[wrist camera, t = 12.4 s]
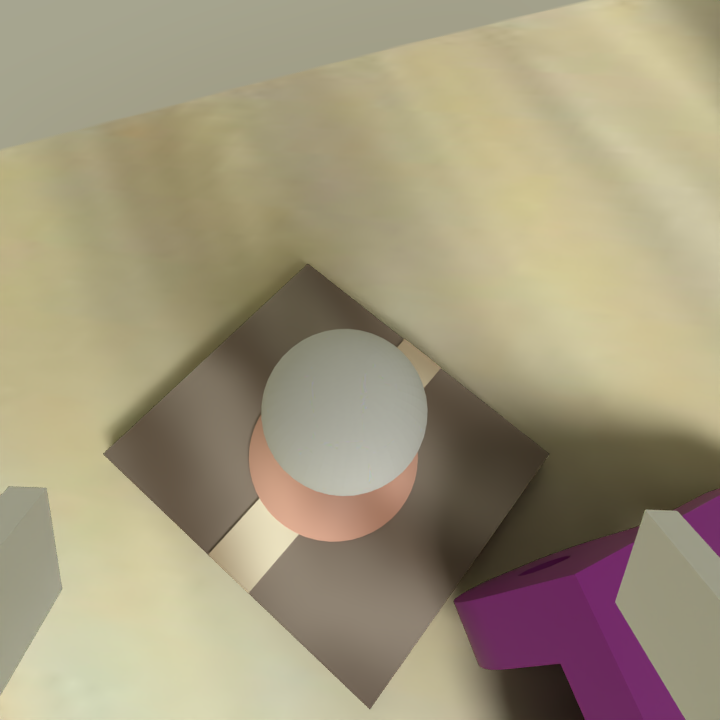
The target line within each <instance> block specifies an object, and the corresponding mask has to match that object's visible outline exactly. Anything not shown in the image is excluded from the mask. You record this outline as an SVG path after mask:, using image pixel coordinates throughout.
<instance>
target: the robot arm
mask: <svg viewBox="0 0 720 720" xmlns="http://www.w3.org/2000/svg"><path fill="white" fill-rule="evenodd" d="M61 590H62V584H61V578H60V571H59V565H58V558H57V552H56V545H55V539H54V533H53V526H52V520H51V513H50V507H49V500H48V494H47V488H37V487H8V488H7V489H6V490H5V491H4V492H3V493H2V494H1V495H0V695H1V693H2V692H3V690H4V688H5V687H6V685H7V683H8V681H9V680H10V678H11V676H12V675H13V673H14V671H15V669H16V668H17V666H18V664H19V662H20V661H21V659H22V657H23V656H24V654H25V652H26V650H27V649H28V647H29V645H30V644H31V642H32V640H33V638H34V637H35V635H36V633H37V632H38V630H39V628H40V626H41V625H42V623H43V621H44V620H45V618H46V616H47V614H48V613H49V611H50V609H51V607H52V606H53V604H54V602H55V601H56V599H57V597H58V595H59V594H60V592H61ZM615 603H616V605H617V606H618V608H619V610H620V611H621V613H622V615H623V616H624V618H625V620H626V621H627V623H628V625H629V626H630V628H631V630H632V631H633V633H634V635H635V636H636V638H637V640H638V641H639V643H640V645H641V646H642V648H643V650H644V651H645V653H646V655H647V656H648V658H649V660H650V661H651V663H652V665H653V666H654V668H655V670H656V671H657V673H658V675H659V676H660V678H661V680H662V681H663V683H664V685H665V686H666V688H667V690H668V691H669V693H670V695H671V696H672V698H673V700H674V701H675V703H676V705H677V706H678V708H679V710H680V711H681V713H682V715H683V716H684V718H685V720H720V557H719V556H718V555H717V554H716V553H715V552H714V551H713V550H712V549H711V548H710V546H709V545H708V544H707V543H706V542H705V541H704V540H703V539H702V538H701V536H700V535H699V534H698V533H697V532H696V531H695V530H694V529H693V528H692V527H691V525H690V524H689V523H688V522H687V521H686V520H685V519H684V518H683V517H682V515H681V514H680V513H679V512H678V511H670V510H645V511H644V514H643V518H642V521H641V524H640V527H639V530H638V533H637V536H636V539H635V542H634V545H633V548H632V551H631V554H630V558H629V561H628V564H627V567H626V570H625V573H624V576H623V579H622V582H621V585H620V588H619V591H618V594H617V597H616V601H615Z"/></svg>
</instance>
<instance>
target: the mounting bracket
mask: <svg viewBox="0 0 720 720" xmlns="http://www.w3.org/2000/svg"><path fill="white" fill-rule="evenodd" d="M672 511H678V512H679V513H680V514H681V515H682V517H683V518H684V519H685V520H686V521H687V522H688V523H689V524H690V525H691V527H692V528H693V529H694V530H695V531H696V532H697V533H698V534H699V535H700V536H701V538H702V539H703V540H704V541H705V542H706V543H707V544H708V545H709V546H710V548H711V549H712V550H713V551H714V552H715V553H716V554H717V555H718V556H719V557H720V488H719V489H716V490H713V491H710V492H707V493H705V494H703V495H701V496H699V497H697V498H695V499H693V500H691V501H689V502H687V503H686V504H684V505H682V506H680V507H678V508H676V509H674V510H672ZM639 527H640V526H638V527H635V528H632V529H628V530H625V531H622V532H618V533H615V534H612V535H609V536H605V537H602V538H599V539H595V540H592V541H589V542H586V543H583V544H580V545H577V546H574V547H571V548H568V549H565V550H562V551H560V552H557V553H554V554H551V555H549V556H546V557H543V558H541V559H538V560H536V561H533V562H531V563H529V564H526V565H524V566H521V567H519V568H517V569H514V570H512V571H509V572H507V573H505V574H502V575H500V576H497V577H495V578H493V579H490V580H488V581H486V582H484V583H482V584H479V585H477V586H475V587H473V588H472V589H470V590H468V591H466V592H464V593H463V594H461V595H459V596H458V597H457V598H456V599H454V604H455V606H456V609H457V611H458V614H459V616H460V619H461V621H462V624H463V626H464V629H465V631H466V634H467V637H468V639H469V642H470V644H471V647H472V649H473V652H474V654H475V657H476V659H477V662H478V664H479V666H480V667H482V668H484V669H489V670H503V669H514V668H523V667H533V666H542V665H552V664H561V666H562V668H563V671H564V673H565V675H566V678H567V680H568V682H569V684H570V687H571V689H572V691H573V693H574V696H575V698H576V700H577V703H578V705H579V707H580V709H581V712H582V714H583V716H584V718H585V720H685V718H684V716H683V715H682V713H681V711H680V710H679V708H678V706H677V705H676V703H675V701H674V700H673V698H672V696H671V695H670V693H669V691H668V690H667V688H666V686H665V685H664V683H663V681H662V680H661V678H660V676H659V675H658V673H657V671H656V670H655V668H654V666H653V665H652V663H651V661H650V660H649V658H648V656H647V655H646V653H645V651H644V650H643V648H642V646H641V645H640V643H639V641H638V640H637V638H636V636H635V635H634V633H633V631H632V630H631V628H630V626H629V625H628V623H627V621H626V620H625V618H624V616H623V615H622V613H621V611H620V610H619V608H618V606H617V605H616V603H615V601H616V597H617V594H618V591H619V588H620V585H621V582H622V579H623V576H624V573H625V570H626V567H627V564H628V561H629V558H630V554H631V551H632V548H633V545H634V542H635V539H636V536H637V533H638V530H639Z"/></svg>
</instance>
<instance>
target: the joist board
mask: <svg viewBox="0 0 720 720" xmlns="http://www.w3.org/2000/svg"><path fill="white" fill-rule="evenodd" d="M335 329H353V330H361V331H364V332H368V333H372V334H374V335H376V336H379V337H381V338H383V339H385V340H387V341H388V342H390V343H391V344H393V345H394V346H395V347H397V348H398V349H399V350H400V351H401V352H403V354H404V355H405V356H406V357H407V358H408V359H409V360H410V362H411V363H412V365H413V366H414V368H415V369H416V371H417V372H418V375H419V377H420V379H421V381H422V383H423V387H424V391H425V394H426V400H427V409H428V412H427V425H426V430H425V434H424V438H423V441H422V443H421V446H420V448H419V450H418V452H417V454H416V455H415V457H414V459H413V460H412V462H411V463H410V464H409V465H408V466H407V468H406V469H405V470H404V471H403V472H402V473H401V474H400V475H399V476H397V477H396V478H395V479H394V480H393V481H391V482H389V483H388V484H386V485H384V486H383V487H381V488H379V489H376V490H373V491H371V492H368V493H364V494H359V495H354V496H336V495H328V494H324V493H321V492H317V491H314V490H312V489H310V488H308V487H306V486H304V485H302V484H301V483H299V482H298V481H296V480H295V479H293V478H292V477H291V476H290V475H289V474H288V473H287V472H285V471H284V470H283V469H282V467H281V466H280V465H279V463H278V462H277V461H276V460H275V458H274V456H273V454H272V453H271V451H270V449H269V447H268V445H267V442H266V439H265V436H264V432H263V426H262V420H261V405H262V399H263V393H264V390H265V387H266V384H267V381H268V378H269V377H270V375H271V373H272V371H273V369H274V367H275V366H276V365H277V363H278V362H279V361H280V359H281V358H282V357H283V356H284V355H285V354H286V353H287V352H288V351H289V350H290V349H291V348H292V347H294V346H295V345H297V344H298V343H299V342H301V341H302V340H304V339H306V338H308V337H310V336H312V335H315V334H318V333H321V332H324V331H329V330H335ZM103 454H104V455H105V456H106V457H107V458H108V459H109V460H110V461H111V462H112V463H113V464H114V465H115V466H116V467H117V468H118V469H119V470H120V471H121V472H122V473H123V474H124V475H125V476H127V477H128V478H129V479H130V480H131V481H132V482H133V483H134V484H135V485H136V486H137V487H138V488H139V489H140V490H141V491H142V492H143V493H144V494H145V495H146V496H147V497H148V498H150V499H151V500H152V501H153V502H154V503H155V504H156V505H157V506H158V507H159V508H160V509H161V510H162V511H163V512H164V513H165V514H166V515H167V516H168V517H169V518H170V519H171V520H172V521H174V522H175V523H176V524H177V525H178V526H179V527H180V528H181V529H182V530H183V531H184V532H185V533H186V534H187V535H188V536H189V537H190V538H191V539H192V540H193V541H194V542H195V543H197V544H198V545H199V546H200V547H201V548H202V549H203V550H204V551H205V552H206V553H207V554H208V555H209V556H210V557H211V558H212V559H213V560H214V561H215V562H216V563H217V564H218V565H219V566H220V567H221V568H222V569H223V570H224V571H226V572H227V573H228V574H229V575H230V576H231V577H232V578H233V579H234V580H235V581H236V582H237V583H238V584H239V585H240V586H241V587H242V588H243V589H244V590H245V591H246V592H247V593H249V594H250V595H251V596H252V597H253V598H254V599H255V600H256V601H257V602H258V603H259V604H260V605H261V606H262V607H263V608H264V609H265V610H267V611H268V612H269V613H270V614H271V615H272V616H273V617H274V618H275V619H276V620H277V621H278V622H279V623H280V624H281V625H282V626H283V627H284V628H285V629H286V630H287V631H288V632H290V633H291V634H292V635H293V636H294V637H295V638H296V639H297V640H298V641H299V642H300V643H301V644H302V645H303V646H304V647H305V648H306V649H307V650H308V651H309V652H310V653H311V654H313V655H314V656H315V657H316V658H317V659H318V660H319V661H320V662H321V663H322V664H323V665H324V666H325V667H326V668H327V669H328V670H329V671H330V672H331V673H332V674H333V675H334V676H335V677H337V678H338V679H339V680H340V681H341V682H342V683H343V684H344V685H345V686H346V687H347V688H348V689H349V690H350V691H351V692H352V693H353V694H354V695H355V696H356V697H357V698H358V699H360V700H361V701H362V702H363V703H364V704H365V705H366V706H367V707H368V708H369V709H370V708H371V707H372V706H373V704H374V703H375V701H376V700H377V698H378V697H379V696H380V694H381V693H382V691H383V690H384V689H385V687H386V686H387V684H388V683H389V681H390V680H391V679H392V677H393V676H394V674H395V673H396V671H397V670H398V669H399V667H400V666H401V664H402V663H403V662H404V660H405V659H406V657H407V656H408V654H409V653H410V652H411V650H412V649H413V647H414V646H415V644H416V643H417V642H418V640H419V639H420V637H421V636H422V635H423V633H424V632H425V630H426V629H427V627H428V626H429V625H430V623H431V622H432V620H433V619H434V617H435V616H436V615H437V613H438V612H439V610H440V609H441V608H442V606H443V605H444V603H445V602H446V600H447V599H448V598H449V596H450V595H451V593H452V592H453V590H454V589H455V588H456V586H457V585H458V583H459V582H460V581H461V579H462V578H463V576H464V575H465V573H466V572H467V571H468V569H469V568H470V566H471V565H472V563H473V562H474V561H475V559H476V558H477V556H478V555H479V554H480V552H481V551H482V549H483V548H484V546H485V545H486V544H487V542H488V541H489V539H490V538H491V536H492V535H493V534H494V532H495V531H496V529H497V528H498V527H499V525H500V524H501V522H502V521H503V519H504V518H505V517H506V515H507V514H508V512H509V511H510V509H511V508H512V507H513V505H514V504H515V502H516V501H517V500H518V498H519V497H520V495H521V494H522V492H523V491H524V490H525V488H526V487H527V485H528V484H529V482H530V481H531V480H532V478H533V477H534V475H535V474H536V473H537V471H538V470H539V468H540V467H541V465H542V464H543V463H544V461H545V460H546V458H547V457H548V455H549V453H548V452H546V451H545V450H544V449H542V448H541V447H540V446H539V445H537V444H536V443H535V442H534V441H532V440H531V439H530V438H528V437H527V436H526V435H525V434H523V433H522V432H521V431H520V430H518V429H517V428H516V427H515V426H513V425H512V424H511V423H509V422H508V421H507V420H506V419H504V418H503V417H502V416H501V415H499V414H498V413H497V412H495V411H494V410H493V409H492V408H490V407H489V406H488V405H487V404H485V403H484V402H483V401H482V400H480V399H479V398H478V397H476V396H475V395H474V394H473V393H471V392H470V391H469V390H468V389H466V388H465V387H464V386H462V385H461V384H460V383H459V382H457V381H456V380H455V379H454V378H452V377H451V376H450V375H449V374H447V373H446V372H445V371H443V370H442V369H441V367H440V366H439V365H438V364H436V363H435V362H434V361H433V360H431V359H430V358H429V357H428V356H426V355H425V354H424V353H422V352H421V351H420V350H419V349H417V348H416V347H415V346H414V345H412V344H411V343H410V342H409V341H407V340H406V339H403V338H402V337H400V336H399V335H398V334H396V333H395V332H394V331H393V330H391V329H390V328H389V327H388V326H386V325H385V324H384V323H383V322H381V321H380V320H379V319H377V318H376V317H375V316H374V315H372V314H371V313H370V312H369V311H367V310H366V309H365V308H363V307H362V306H361V305H360V304H358V303H357V302H356V301H355V300H353V299H352V298H351V297H350V296H348V295H347V294H346V293H344V292H343V291H342V290H341V289H339V288H338V287H337V286H336V285H334V284H333V283H332V282H330V281H329V280H328V279H327V278H325V277H324V276H323V275H322V274H320V273H319V272H318V271H317V270H315V269H314V268H313V267H311V266H310V265H309V264H307V265H306V266H305V267H304V268H303V269H301V270H300V271H299V272H298V273H297V274H296V275H295V276H294V277H293V278H292V279H291V280H290V281H289V282H287V283H286V284H285V285H284V286H283V287H282V288H281V289H280V290H279V291H278V292H277V293H276V294H275V295H273V296H272V297H271V298H270V299H269V300H268V301H267V302H266V303H265V304H264V305H263V306H262V307H261V308H259V309H258V310H257V311H256V312H255V313H254V314H253V315H252V316H251V317H250V318H249V319H248V320H247V321H245V322H244V323H243V324H242V325H241V326H240V327H239V328H238V329H237V330H236V331H235V332H234V333H233V334H231V335H230V336H229V337H228V338H227V339H226V340H225V341H224V342H223V343H222V344H221V345H220V346H219V347H218V348H216V349H215V350H214V351H213V352H212V353H211V354H210V355H209V356H208V357H207V358H206V359H205V360H204V361H202V362H201V363H200V364H199V365H198V366H197V367H196V368H195V369H194V370H193V371H192V372H191V373H190V374H188V375H187V376H186V377H185V378H184V379H183V380H182V381H181V382H180V383H179V384H178V385H177V386H176V387H174V388H173V389H172V390H171V391H170V392H169V393H168V394H167V395H166V396H165V397H164V398H163V399H162V400H160V401H159V402H158V403H157V404H156V405H155V406H154V407H153V408H152V409H151V410H150V411H149V412H148V413H146V414H145V415H144V416H143V417H142V418H141V419H140V420H139V421H138V422H137V423H136V424H135V425H134V426H132V427H131V428H130V429H129V430H128V431H127V432H126V433H125V434H124V435H123V436H122V437H121V438H120V439H118V440H117V441H116V442H115V443H114V444H113V445H112V446H111V447H110V448H109V449H108V450H107V451H106V452H104V453H103Z"/></svg>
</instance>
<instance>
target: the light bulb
mask: <svg viewBox="0 0 720 720" xmlns="http://www.w3.org/2000/svg"><path fill="white" fill-rule="evenodd" d="M427 412H428V409H427V400H426V394H425V391H424V387H423V383H422V381H421V379H420V377H419V375H418V372H417V371H416V369H415V368H414V366H413V365H412V363H411V362H410V360H409V359H408V358H407V357H406V356H405V355H404V354H403V352H401V351H400V350H399V349H398V348H397V347H395V346H394V345H393V344H391V343H390V342H388V341H387V340H385V339H383V338H381V337H379V336H376V335H374V334H372V333H368V332H364V331H361V330H353V329H335V330H329V331H324V332H321V333H318V334H315V335H312V336H310V337H308V338H306V339H304V340H302V341H301V342H299V343H298V344H297V345H295V346H294V347H292V348H291V349H290V350H289V351H288V352H287V353H286V354H285V355H284V356H283V357H282V358H281V359H280V361H279V362H278V363H277V365H276V366H275V367H274V369H273V371H272V373H271V375H270V377H269V378H268V381H267V384H266V387H265V390H264V393H263V399H262V405H261V420H262V426H263V432H264V436H265V439H266V442H267V445H268V447H269V449H270V451H271V453H272V454H273V456H274V458H275V460H276V461H277V462H278V463H279V465H280V466H281V467H282V469H283V470H284V471H285V472H287V473H288V474H289V475H290V476H291V477H292V478H293V479H295V480H296V481H298V482H299V483H301V484H302V485H304V486H306V487H308V488H310V489H312V490H314V491H317V492H321V493H324V494H328V495H336V496H354V495H359V494H364V493H368V492H371V491H373V490H376V489H379V488H381V487H383V486H384V485H386V484H388V483H389V482H391V481H393V480H394V479H395V478H396V477H397V476H399V475H400V474H401V473H402V472H403V471H404V470H405V469H406V468H407V466H408V465H409V464H410V463H411V462H412V460H413V459H414V457H415V455H416V454H417V452H418V450H419V448H420V446H421V443H422V441H423V438H424V434H425V430H426V425H427Z"/></svg>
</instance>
